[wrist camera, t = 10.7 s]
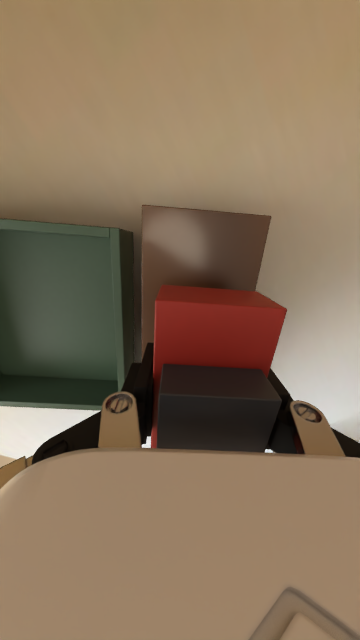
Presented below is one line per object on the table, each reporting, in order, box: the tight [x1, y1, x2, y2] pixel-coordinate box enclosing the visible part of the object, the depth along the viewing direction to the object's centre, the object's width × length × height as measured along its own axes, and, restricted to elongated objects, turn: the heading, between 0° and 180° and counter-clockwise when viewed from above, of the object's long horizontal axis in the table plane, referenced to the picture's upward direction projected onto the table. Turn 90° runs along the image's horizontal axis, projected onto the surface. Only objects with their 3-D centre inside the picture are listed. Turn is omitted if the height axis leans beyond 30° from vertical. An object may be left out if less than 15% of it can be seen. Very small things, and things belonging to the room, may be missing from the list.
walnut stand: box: [142, 205, 271, 359], centre depth 17 cm, size 8×18×4 cm, turn 176°
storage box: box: [0, 219, 135, 410], centre depth 16 cm, size 14×15×4 cm
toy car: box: [151, 285, 287, 453], centre depth 10 cm, size 5×10×6 cm, turn 176°
